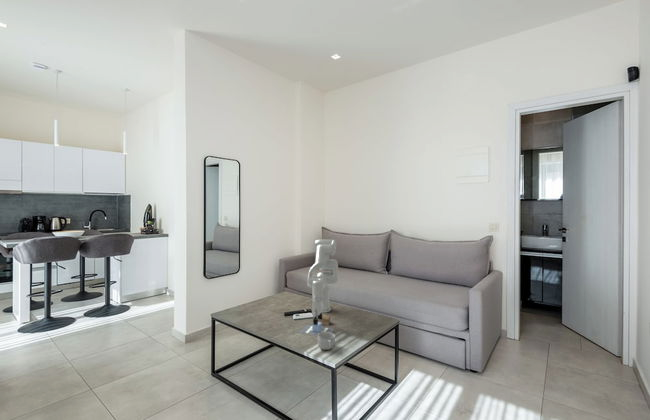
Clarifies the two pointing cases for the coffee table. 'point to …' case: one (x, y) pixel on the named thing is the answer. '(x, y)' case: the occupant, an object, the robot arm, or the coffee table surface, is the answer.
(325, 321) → the walnut block
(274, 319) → the coffee table surface
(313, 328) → the blue cube
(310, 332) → the letter card
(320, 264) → the robot arm
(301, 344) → the coffee table surface
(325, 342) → the teacup
